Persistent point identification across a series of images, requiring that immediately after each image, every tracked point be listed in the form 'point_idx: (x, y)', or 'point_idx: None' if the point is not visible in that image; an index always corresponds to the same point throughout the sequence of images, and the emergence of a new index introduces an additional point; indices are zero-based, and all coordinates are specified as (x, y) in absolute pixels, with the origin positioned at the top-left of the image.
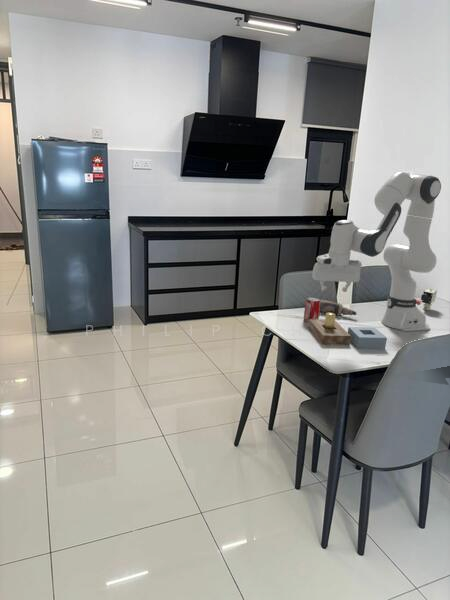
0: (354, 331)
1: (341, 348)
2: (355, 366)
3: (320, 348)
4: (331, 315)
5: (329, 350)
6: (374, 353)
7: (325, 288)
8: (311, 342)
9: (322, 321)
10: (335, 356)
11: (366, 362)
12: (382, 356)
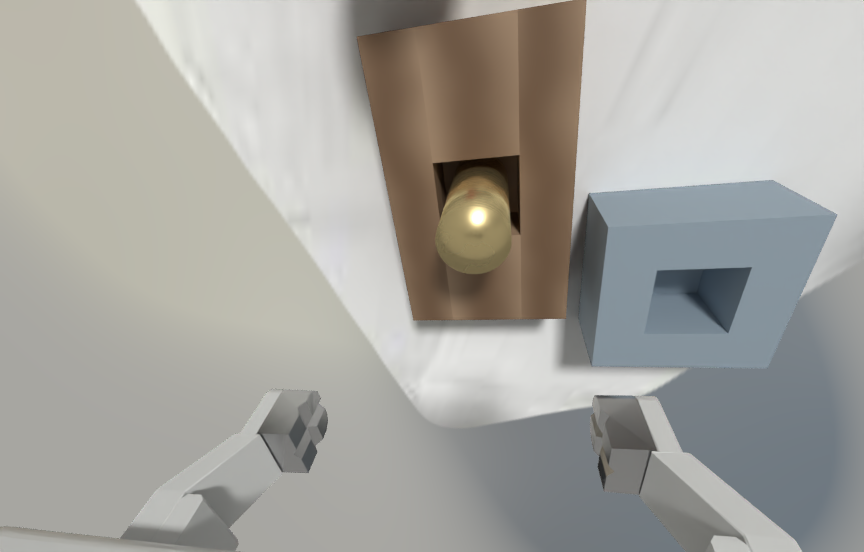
0: (608, 297)
1: None
2: (506, 419)
3: None
4: (469, 269)
5: None
6: None
7: (309, 455)
8: (382, 247)
9: (457, 81)
10: (459, 362)
11: (562, 399)
12: None
